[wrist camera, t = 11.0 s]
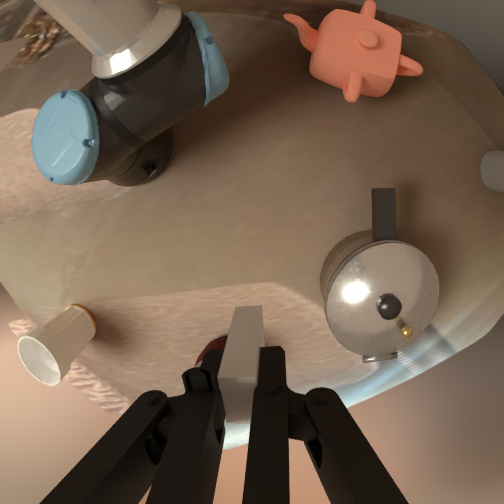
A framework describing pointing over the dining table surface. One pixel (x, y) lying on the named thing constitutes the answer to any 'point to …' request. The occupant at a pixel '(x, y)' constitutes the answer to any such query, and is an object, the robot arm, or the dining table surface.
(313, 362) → the dining table surface
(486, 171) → the cup
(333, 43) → the teapot
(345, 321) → the lid
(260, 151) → the dining table surface
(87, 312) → the cup
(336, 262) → the pot
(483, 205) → the dining table surface
